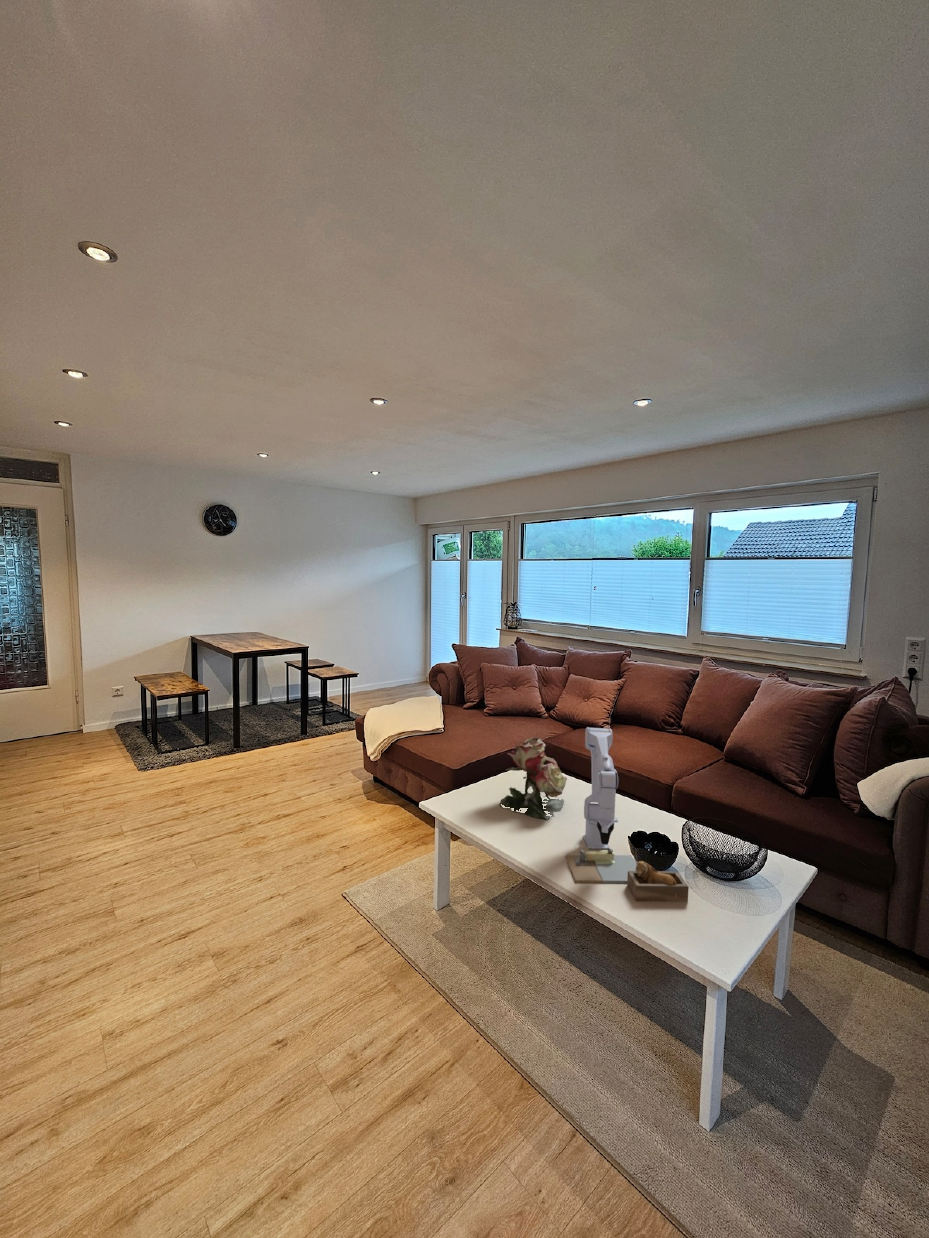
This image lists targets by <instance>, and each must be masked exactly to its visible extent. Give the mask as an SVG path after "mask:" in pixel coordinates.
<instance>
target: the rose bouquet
mask: <svg viewBox="0 0 929 1238" xmlns="http://www.w3.org/2000/svg"><path fill="white" fill-rule="evenodd" d="M519 743H520V744H522V745H516V746H515V748H514V749H516V751H514V750H511V752H507V756H510V757H511V758H512V760H513V763H515V765H517V767H509V768H507V769H505V771H514V772H515V771H523V772H525V773H526V775H525V776H523V778H522V779H523V780H525V782H524V793H522V791H520V790H518V789H517V788H516V787H512V786H511V787H509V788H508V790H509V792H510V795H509V794H507V795H506V796H505V797H504V798H501V799H500V803H499V805H500V804H502V805H504V806H505V807H510V808H514V811H516V810H518V811H519V809H520V808H528V809H527V811H526V812H525V814H524V815H528V816H530V817H533V818H538V819H541V818H542V819H545V820H547V821H548V820H550V819H551V818H555V815H554V812H553V811H555V812H561V811H562V809H563V808H564V804H565V800H564V799H562V798H561V800H559V799H560V798H558V799H550V798H549V797H555V798H557V797H558V796H561V795H562V794H563V791H564V789H565V787H566V784H567V779H568V777H566V776H564V774H563V773H562V770H561V769H560V767H559V766H558V763H557V761H556V760H555V758H553V757H552V758H551V757H548V756H547V755H546V752H545V750H546V744H545V742H543V741H542V739H541V738H540V737H537V736H534V737H530V738H527V739H526V740H525V741H524V742H523V741H522V740H519ZM530 787H531V789H532V792H530V793H529V792H528V790H529V789H530ZM541 793H544V794H545V796H544V797H547V798H548V799H549V800H547V799H544V800H543V801H548V802H546V803H545V802H542V798H541ZM542 804H547V805H546V806H544V808H546V809H543V805H542ZM520 811H521V810H520ZM544 811H548V812H550V813H548V814H550V815H552V816H551V817H550V816H546V815H547V814H546V813H545V812H544ZM548 818H550V819H548Z"/></svg>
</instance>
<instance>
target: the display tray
mask: <svg viewBox="0 0 929 1238" xmlns="http://www.w3.org/2000/svg"><path fill="white" fill-rule="evenodd" d="M656 871H657V872H659V873H663V874H669V875H671V876H672V877H673V878H674V880H675V881H676V883H677V885H676V884H673V885H670V884H656V883H654V882H653V884H648V883H647V881H644V880H643V879H642V877H640V876H638V874H637V872H636V871H628V879H627V883H626V885H627V887H628V890H629V891H630V893H631V895H632V896H633V898H634V900H635V902H676V903H677V902H681V903H682V902H686V903H687V902H689V890H690V889H689V888H690V887H689V885H688V884H687V882H686V881H685V879H684V878H683V877H682V876H681V874H680V873H679V872H678V871H676V870H675V871H673V870H672V871H671V870H666V871H665V870H662V871H660V870H656ZM675 894H676V895H677V900H676V901H674V899H675Z"/></svg>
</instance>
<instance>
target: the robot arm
mask: <svg viewBox="0 0 929 1238" xmlns="http://www.w3.org/2000/svg"><path fill="white" fill-rule="evenodd" d="M584 732H585V733H584V739H585V740H584V746H585V749H586V750H588V751H590V757H591V758H590V759H591V763H590V764H591V794H590V795H588V796H587V797H585V799H584V806H583V815H584V819H585V831H584V832H585V834H584V835H582V837H583V840H584V841H585V842H584V843H585V844H586V846H587V848H588V849H593V850H596V849H599V850H601V849H602V850H603V849H607V850H608V849H611V848H610V845H609V843H610V839H611V835H612V833H613V831H614V829H615V823H618V822H619V818H618V817H616V814H615V813H616V791H617V789H618V787H619V776H618V771H617V770H616V769H615V768H614V761H613V757H611V755H609V750H610V748H611V746H612V744H613V738H614V736H613V730H612V729H611V727H609V728H606V727H605V728H601V727H589V726H587V727H586V728H585V731H584Z"/></svg>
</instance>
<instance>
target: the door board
mask: <svg viewBox="0 0 929 1238" xmlns="http://www.w3.org/2000/svg"><path fill="white" fill-rule="evenodd" d="M564 857H565V859H566V862H567V864H568V867H569V869H570V872H571V875H572V877H573V880H574V882H575V883H577V884H581V883H584V884H588V883H589V884H590V883H591V884H594V883H597V884H627V879H628V871H636V864H637V862H636V861H635V860H634V857H633V856H632V855H629V854H614V861H587V859H586V851H585V850H582V849H581V850H579V854H565V856H564Z"/></svg>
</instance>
